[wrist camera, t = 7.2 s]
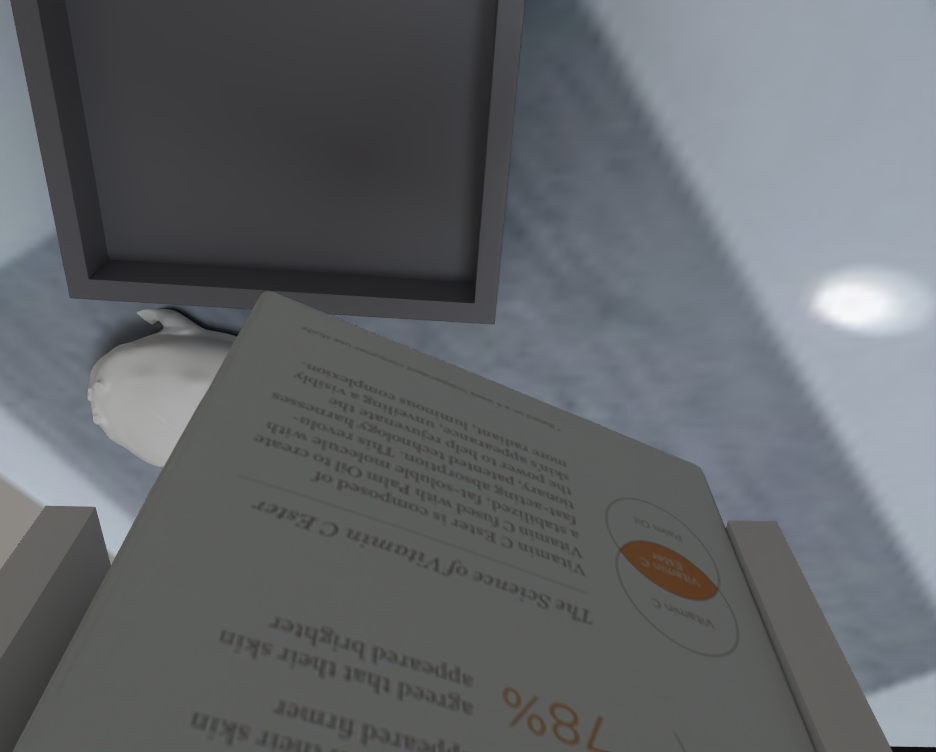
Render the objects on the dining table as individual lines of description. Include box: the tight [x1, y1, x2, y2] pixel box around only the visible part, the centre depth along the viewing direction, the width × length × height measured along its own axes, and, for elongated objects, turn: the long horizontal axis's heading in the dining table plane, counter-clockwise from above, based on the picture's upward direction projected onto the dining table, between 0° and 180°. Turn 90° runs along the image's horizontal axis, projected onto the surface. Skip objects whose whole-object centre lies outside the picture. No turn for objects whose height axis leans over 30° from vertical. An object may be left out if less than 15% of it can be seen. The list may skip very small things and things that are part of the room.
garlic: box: [87, 309, 237, 467], centre depth 33 cm, size 8×7×4 cm
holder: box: [10, 0, 525, 324], centre depth 27 cm, size 16×16×2 cm
